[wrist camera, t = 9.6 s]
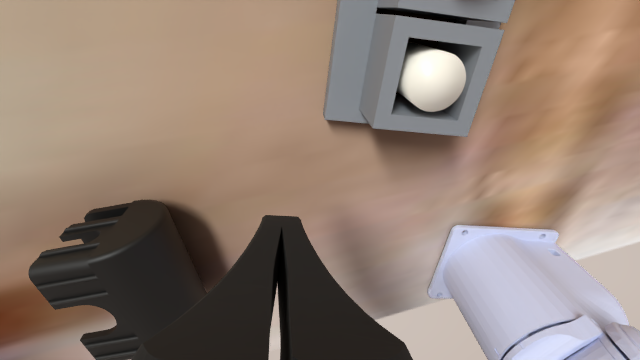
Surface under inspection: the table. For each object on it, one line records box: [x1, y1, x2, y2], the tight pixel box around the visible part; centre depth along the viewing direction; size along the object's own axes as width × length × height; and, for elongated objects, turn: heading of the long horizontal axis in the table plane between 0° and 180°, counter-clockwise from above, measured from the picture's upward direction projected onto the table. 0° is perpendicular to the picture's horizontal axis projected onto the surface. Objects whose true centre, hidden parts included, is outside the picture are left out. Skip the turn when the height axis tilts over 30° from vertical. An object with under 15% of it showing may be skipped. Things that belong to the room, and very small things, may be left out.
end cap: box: [29, 200, 207, 360], centre depth 22 cm, size 10×7×7 cm
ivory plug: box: [397, 42, 466, 112], centre depth 17 cm, size 3×3×5 cm
